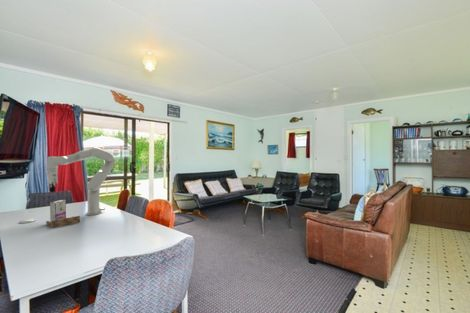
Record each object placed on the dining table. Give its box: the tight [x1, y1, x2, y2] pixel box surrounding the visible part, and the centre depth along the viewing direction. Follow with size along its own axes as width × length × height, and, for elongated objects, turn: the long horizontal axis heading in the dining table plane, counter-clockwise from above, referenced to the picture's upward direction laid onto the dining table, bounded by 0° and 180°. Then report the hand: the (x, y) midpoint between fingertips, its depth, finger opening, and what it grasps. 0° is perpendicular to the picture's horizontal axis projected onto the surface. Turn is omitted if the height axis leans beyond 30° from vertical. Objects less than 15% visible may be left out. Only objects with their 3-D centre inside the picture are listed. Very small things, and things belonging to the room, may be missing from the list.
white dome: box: [18, 218, 37, 224], centre depth 188 cm, size 10×10×1 cm
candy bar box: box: [49, 199, 67, 222], centre depth 191 cm, size 11×5×16 cm, turn 179°
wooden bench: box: [46, 215, 81, 228], centre depth 183 cm, size 18×14×5 cm
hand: (52, 191), depth 200 cm, fingers closed
